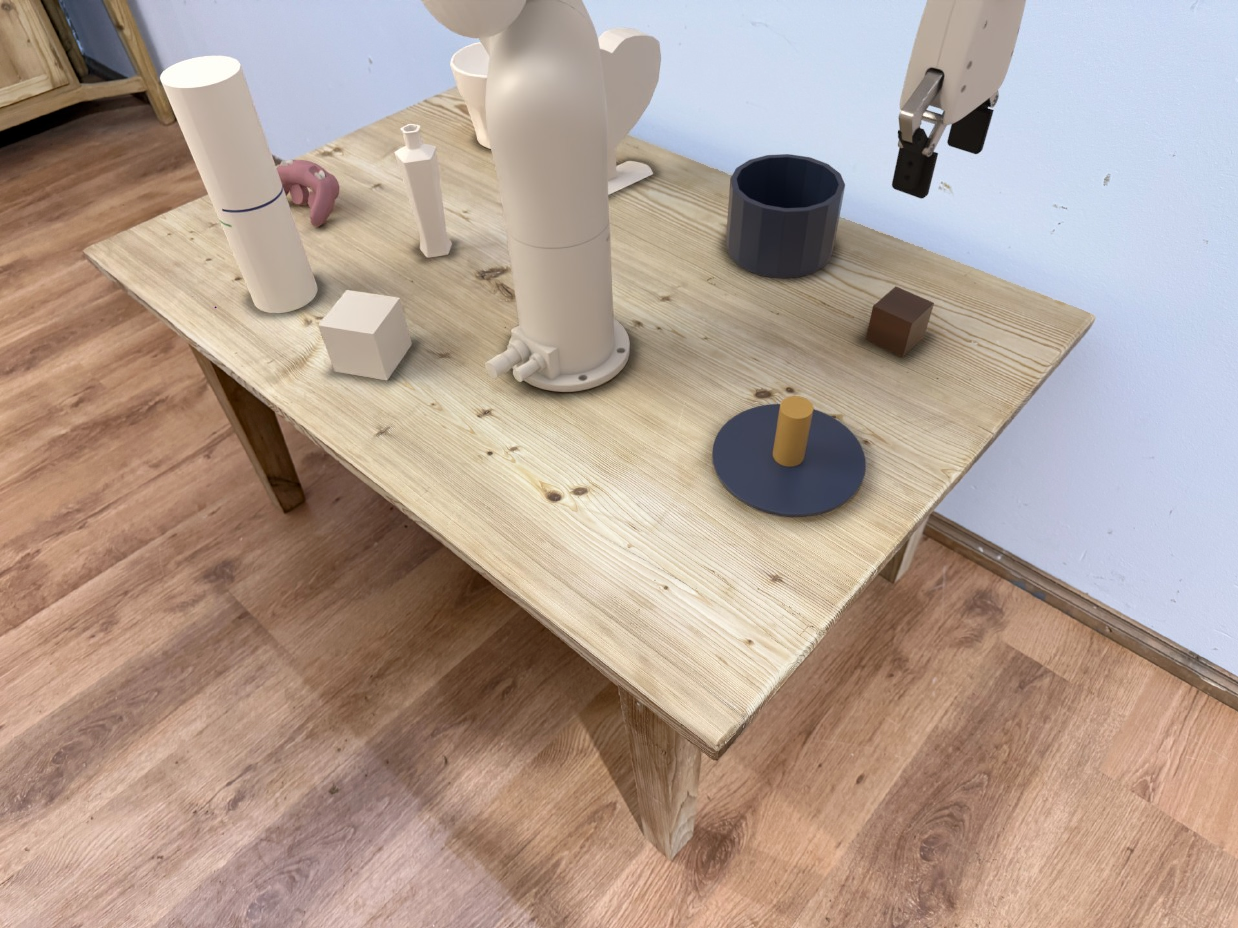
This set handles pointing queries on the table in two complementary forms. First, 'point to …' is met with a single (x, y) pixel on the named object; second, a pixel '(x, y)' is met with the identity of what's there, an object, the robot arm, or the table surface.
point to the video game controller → (314, 177)
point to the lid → (789, 459)
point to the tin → (783, 215)
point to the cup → (473, 85)
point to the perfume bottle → (424, 191)
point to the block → (899, 321)
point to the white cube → (366, 334)
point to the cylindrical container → (241, 179)
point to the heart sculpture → (627, 94)
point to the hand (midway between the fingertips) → (937, 170)
